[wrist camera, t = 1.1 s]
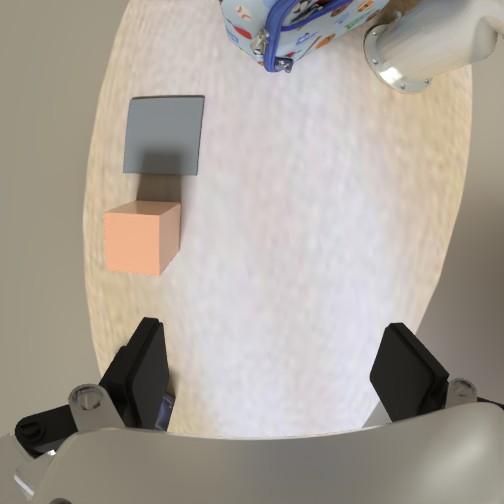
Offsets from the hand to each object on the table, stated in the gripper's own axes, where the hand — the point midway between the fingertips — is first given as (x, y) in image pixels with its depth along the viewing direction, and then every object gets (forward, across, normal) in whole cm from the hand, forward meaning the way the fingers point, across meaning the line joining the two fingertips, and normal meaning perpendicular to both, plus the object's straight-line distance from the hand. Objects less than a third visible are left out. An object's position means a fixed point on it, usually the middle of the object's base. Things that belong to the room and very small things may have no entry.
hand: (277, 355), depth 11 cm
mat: (+30, +13, -12) cm, 35 cm away
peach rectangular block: (+30, +14, +1) cm, 33 cm away
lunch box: (+29, -6, -31) cm, 43 cm away
